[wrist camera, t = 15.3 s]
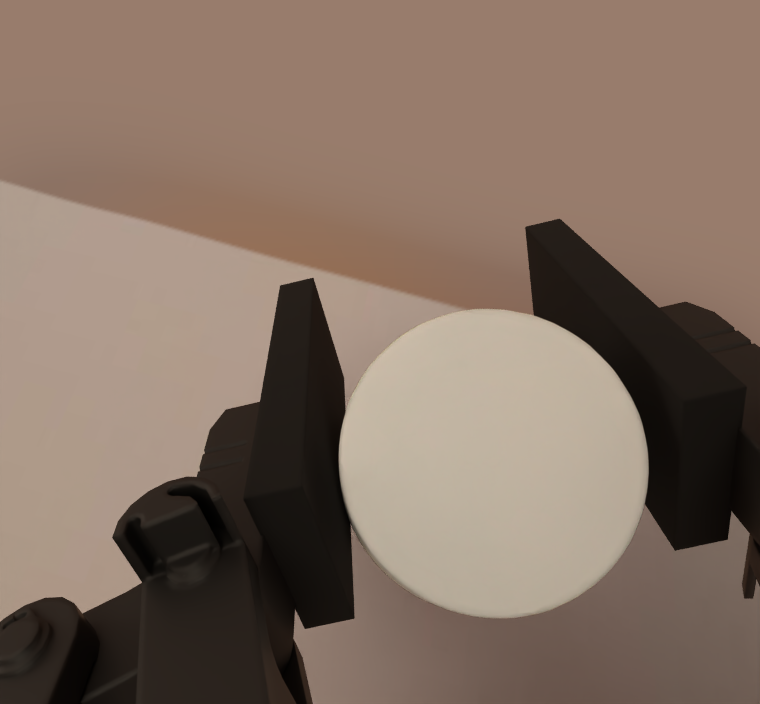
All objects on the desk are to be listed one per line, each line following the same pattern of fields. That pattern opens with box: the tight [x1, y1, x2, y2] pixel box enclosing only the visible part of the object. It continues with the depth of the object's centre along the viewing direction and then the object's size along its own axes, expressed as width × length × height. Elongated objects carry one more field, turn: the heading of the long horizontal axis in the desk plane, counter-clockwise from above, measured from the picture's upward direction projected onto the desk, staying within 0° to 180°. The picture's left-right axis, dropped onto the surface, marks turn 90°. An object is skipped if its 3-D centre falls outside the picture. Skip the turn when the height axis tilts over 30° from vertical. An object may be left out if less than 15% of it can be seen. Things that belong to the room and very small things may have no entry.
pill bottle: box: [339, 309, 649, 618], centre depth 11 cm, size 5×5×8 cm
